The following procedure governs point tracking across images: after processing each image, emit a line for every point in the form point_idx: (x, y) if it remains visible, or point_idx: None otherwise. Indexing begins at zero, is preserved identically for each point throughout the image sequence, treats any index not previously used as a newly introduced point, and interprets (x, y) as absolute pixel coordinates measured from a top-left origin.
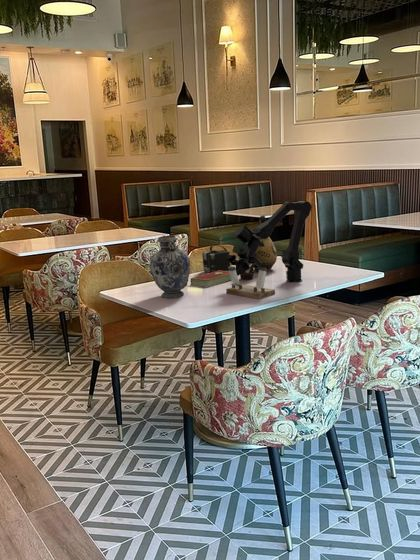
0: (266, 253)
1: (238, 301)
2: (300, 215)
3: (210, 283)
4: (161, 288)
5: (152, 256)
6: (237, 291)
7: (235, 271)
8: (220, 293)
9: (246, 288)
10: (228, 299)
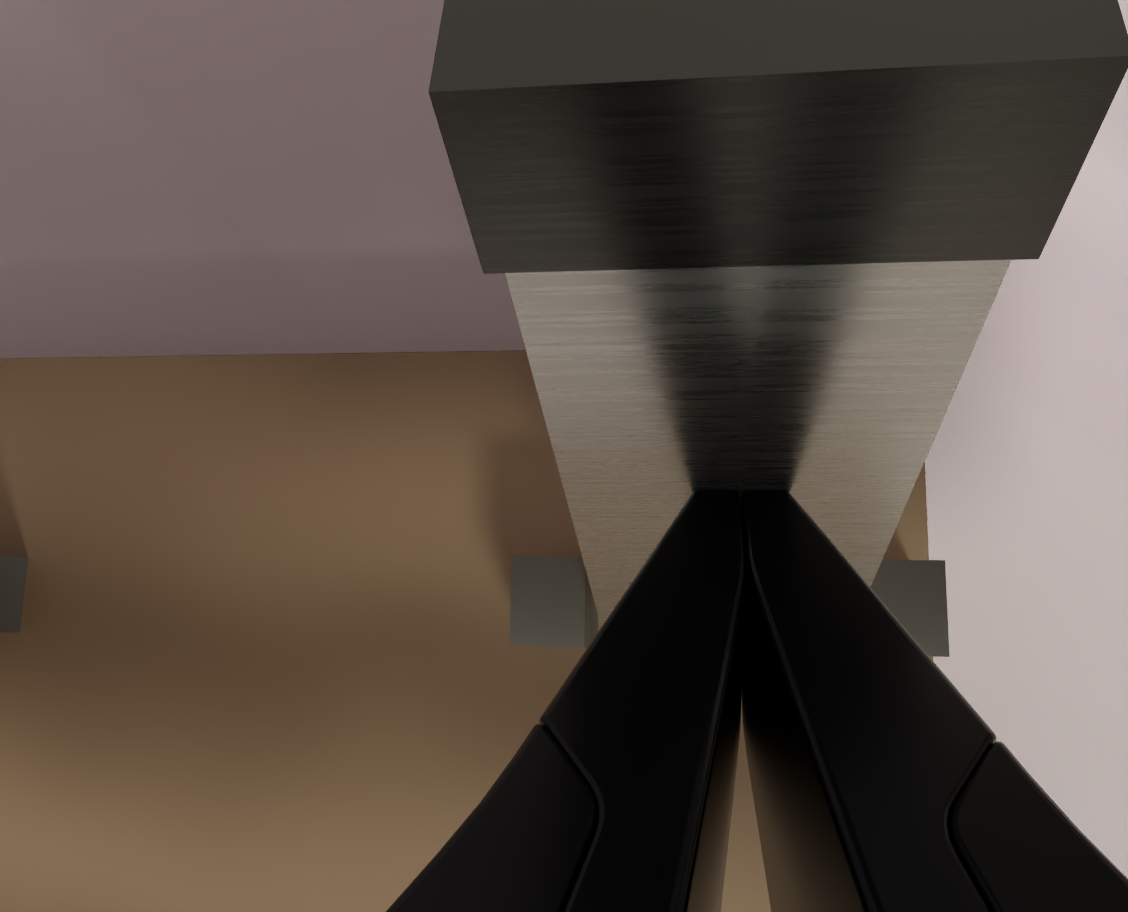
0: None
1: (106, 29)
2: None
3: None
4: None
5: None
6: (453, 355)
7: (533, 312)
8: (1030, 278)
9: (426, 722)
10: (403, 12)
